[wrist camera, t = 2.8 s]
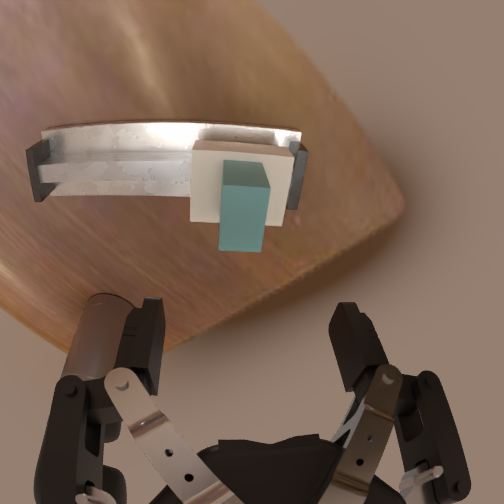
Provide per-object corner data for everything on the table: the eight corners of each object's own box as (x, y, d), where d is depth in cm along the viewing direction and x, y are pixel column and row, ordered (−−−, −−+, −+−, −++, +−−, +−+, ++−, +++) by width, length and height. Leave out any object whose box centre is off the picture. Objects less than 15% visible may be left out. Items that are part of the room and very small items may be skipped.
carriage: (282, 139, 27) (310, 182, 18) (272, 197, 31) (292, 261, 22) (198, 132, 26) (183, 172, 17) (195, 192, 30) (183, 256, 21)
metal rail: (298, 129, 29) (310, 141, 25) (286, 196, 33) (295, 218, 29) (47, 127, 25) (24, 141, 21) (56, 190, 30) (36, 210, 26)
